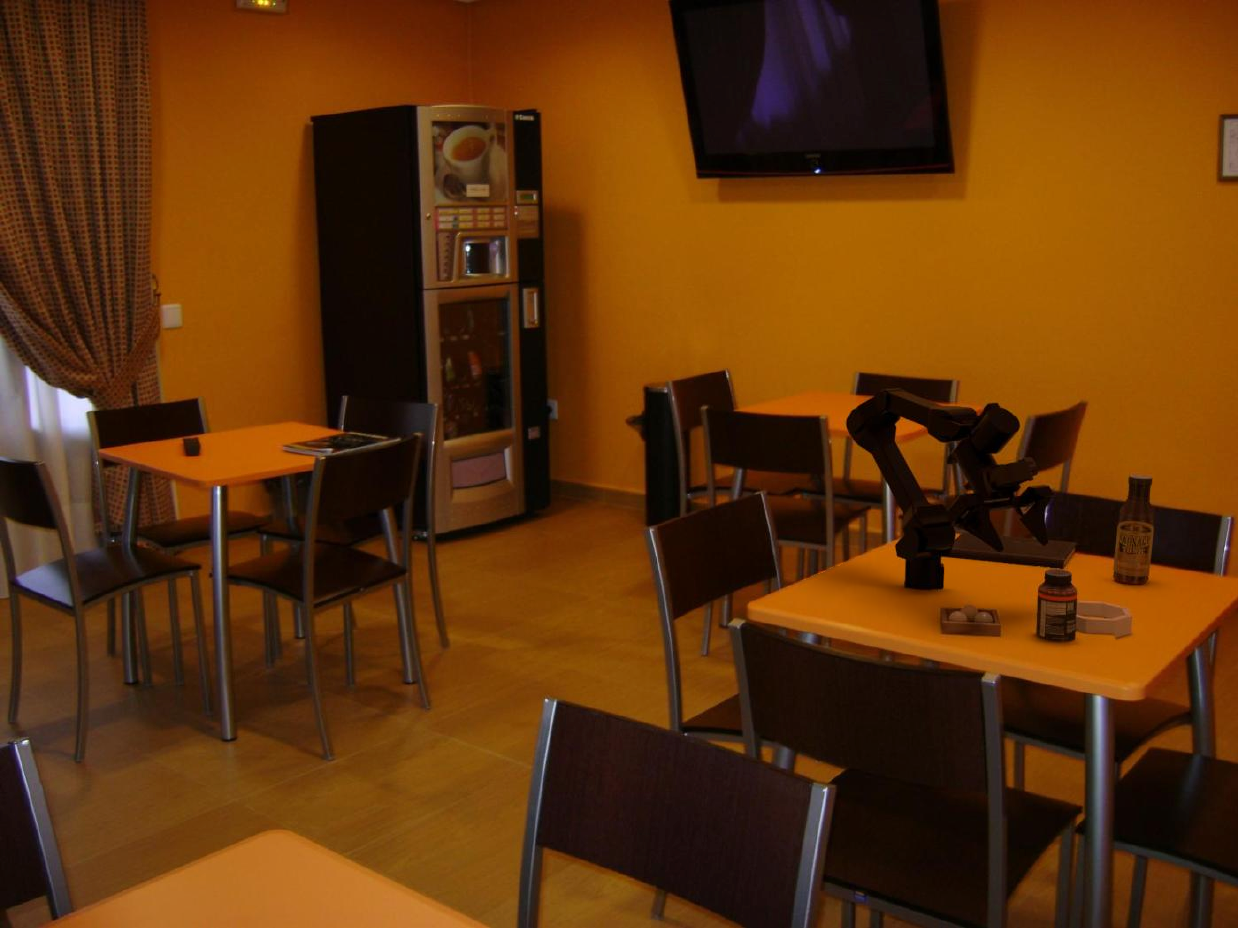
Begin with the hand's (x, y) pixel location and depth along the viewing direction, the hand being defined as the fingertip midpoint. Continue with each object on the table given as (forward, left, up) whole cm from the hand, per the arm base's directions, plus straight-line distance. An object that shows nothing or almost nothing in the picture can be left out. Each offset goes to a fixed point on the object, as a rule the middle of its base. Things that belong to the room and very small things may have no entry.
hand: (1024, 547), depth 207 cm
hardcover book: (+3, +51, -14) cm, 53 cm away
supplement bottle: (+5, -6, -14) cm, 16 cm away
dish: (+12, +2, -13) cm, 18 cm away
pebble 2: (-8, -1, -13) cm, 15 cm away
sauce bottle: (+23, +33, -14) cm, 42 cm away
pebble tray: (-8, -3, -13) cm, 16 cm away
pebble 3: (-6, -5, -13) cm, 15 cm away
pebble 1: (-10, -5, -13) cm, 17 cm away
